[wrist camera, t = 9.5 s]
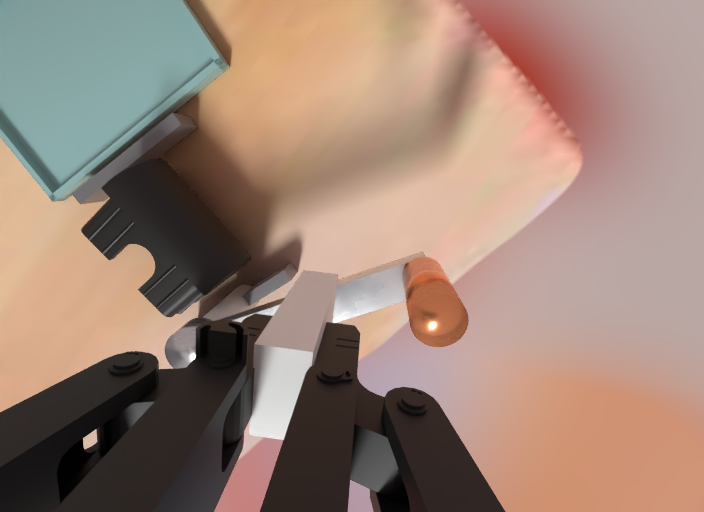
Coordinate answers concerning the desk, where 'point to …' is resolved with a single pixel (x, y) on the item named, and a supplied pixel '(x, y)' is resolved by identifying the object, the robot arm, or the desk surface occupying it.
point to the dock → (154, 148)
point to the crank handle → (369, 304)
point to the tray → (94, 80)
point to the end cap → (166, 234)
